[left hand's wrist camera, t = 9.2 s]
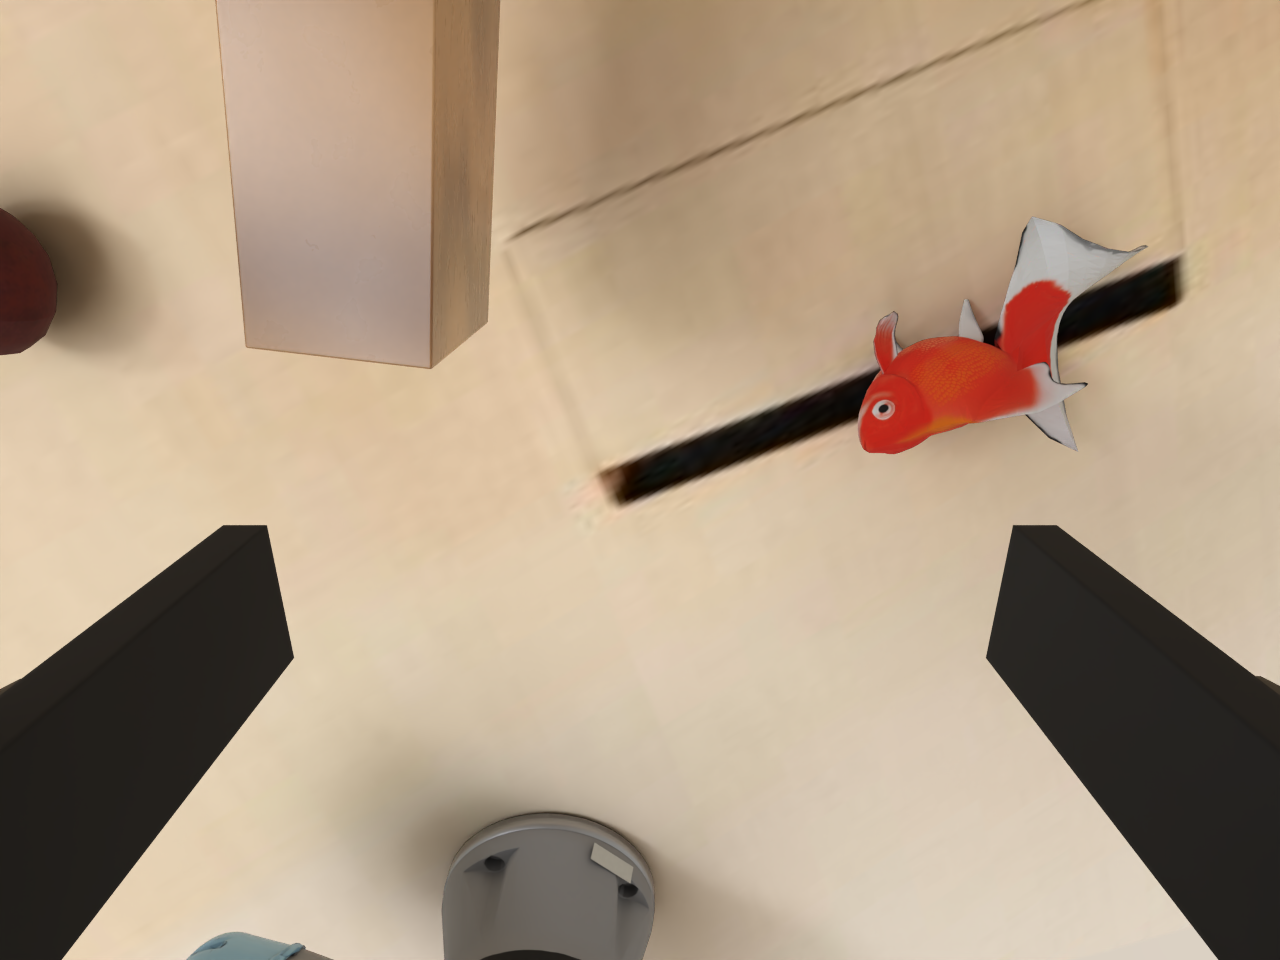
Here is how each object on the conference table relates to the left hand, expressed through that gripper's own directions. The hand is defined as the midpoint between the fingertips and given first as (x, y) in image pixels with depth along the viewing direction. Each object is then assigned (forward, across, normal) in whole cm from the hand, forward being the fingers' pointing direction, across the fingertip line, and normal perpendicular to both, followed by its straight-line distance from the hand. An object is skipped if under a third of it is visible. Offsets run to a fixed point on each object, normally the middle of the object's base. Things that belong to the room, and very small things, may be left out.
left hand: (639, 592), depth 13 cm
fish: (+27, -17, 0) cm, 32 cm away
